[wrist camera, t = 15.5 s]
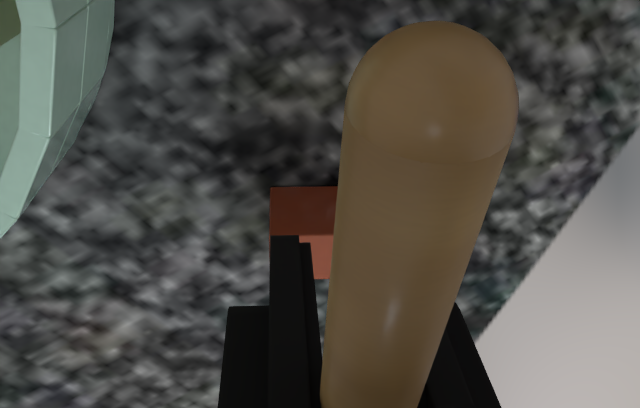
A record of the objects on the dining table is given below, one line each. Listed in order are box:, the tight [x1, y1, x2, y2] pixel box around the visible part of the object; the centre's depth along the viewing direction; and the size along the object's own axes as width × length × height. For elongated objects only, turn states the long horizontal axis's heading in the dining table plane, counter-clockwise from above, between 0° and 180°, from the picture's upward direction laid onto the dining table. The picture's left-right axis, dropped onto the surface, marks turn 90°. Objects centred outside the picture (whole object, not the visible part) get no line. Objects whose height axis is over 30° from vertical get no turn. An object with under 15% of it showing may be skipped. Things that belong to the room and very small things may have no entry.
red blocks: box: [269, 186, 338, 279], centre depth 19 cm, size 12×3×4 cm, turn 178°
